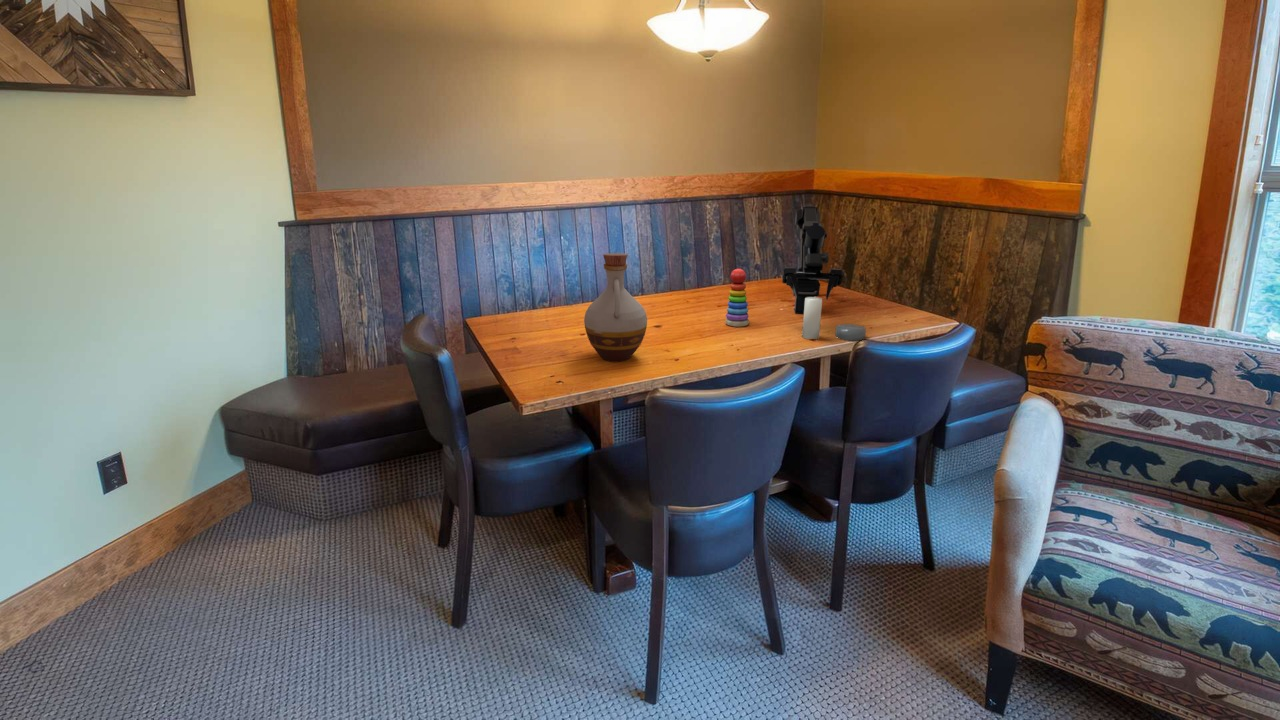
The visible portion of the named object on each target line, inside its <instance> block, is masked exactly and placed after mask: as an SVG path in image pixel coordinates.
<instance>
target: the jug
mask: <svg viewBox="0 0 1280 720" xmlns="http://www.w3.org/2000/svg"><path fill="white" fill-rule="evenodd" d="M602 256H603V260H604V262H605V263H603V268H604V270H605V274H606V281H607V285H606V288H605V290H604V291H603V292H602V293H601V294H600V295H598V297H597V298H595V299H594V301H592V302H591V304H590V305H588V308H587V309H586V310H585V313H584V317H583V318H584V320H583V321H584V322H583V323H584V329H585V333H586V336H587V339H588V341H589V343H590V345H591V347H593V349H594V350H595V352H596V353H597V354H598V355H599V356H600V357H601V359H603V360H604V361H606V362H607V361H608V362H612V363H614V362H624V361H628V360H630V359H631V358H632V356H633V355H634V354H635V353H636V351H637V350H639V348H640V346H641V345H642V343H643V340H644V338H645V335H646V331H647V328H648V315H647V312H646V310H645V308H644V306H643V305H642V304H641V303H640V302H639V301H638V300H637V299H636V298H635V297H634V296H632V295H631V293H630V292H629V291H628V290H627V289H626V288H625V285H624V283H625V273H626V270H627V268H628V263H627V260H628V253H621V252H620V253H619V252H618V253H617V252H614V253H613V252H612V253H611V252H610V253H603V254H602Z"/></svg>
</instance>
